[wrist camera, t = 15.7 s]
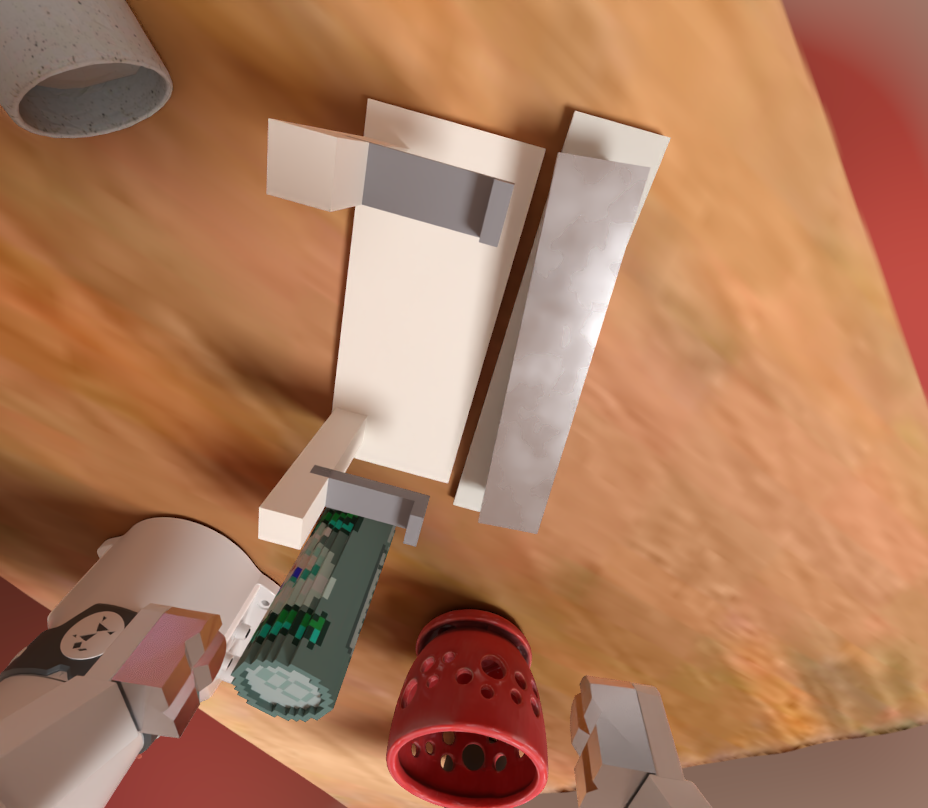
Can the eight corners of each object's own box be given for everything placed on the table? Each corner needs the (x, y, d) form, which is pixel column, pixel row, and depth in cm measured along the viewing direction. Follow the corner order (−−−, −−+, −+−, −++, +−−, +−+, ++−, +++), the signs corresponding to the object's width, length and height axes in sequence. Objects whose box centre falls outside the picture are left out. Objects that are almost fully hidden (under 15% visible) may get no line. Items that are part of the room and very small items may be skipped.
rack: (449, 477, 36) (419, 603, 26) (331, 445, 36) (252, 558, 26) (545, 149, 25) (562, 136, 14) (372, 100, 25) (260, 50, 14)
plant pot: (517, 687, 49) (516, 830, 38) (403, 654, 49) (370, 789, 38) (562, 616, 43) (575, 763, 32) (431, 577, 42) (402, 713, 32)
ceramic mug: (96, -101, 22) (-93, -217, 15) (203, 80, 25) (84, 50, 18) (-23, 22, 25) (-222, -28, 19) (84, 169, 28) (-53, 171, 22)
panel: (513, 514, 37) (513, 521, 37) (454, 498, 37) (453, 504, 37) (666, 138, 24) (670, 137, 23) (573, 112, 24) (575, 110, 23)
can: (351, 479, 38) (259, 646, 25) (408, 517, 39) (350, 696, 26) (316, 518, 40) (217, 687, 27) (371, 553, 42) (301, 731, 28)
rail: (536, 503, 36) (537, 533, 33) (481, 492, 36) (478, 522, 33) (634, 167, 24) (650, 167, 21) (554, 154, 24) (558, 152, 21)
